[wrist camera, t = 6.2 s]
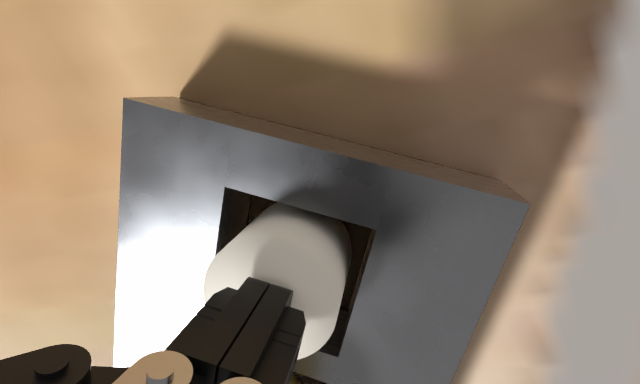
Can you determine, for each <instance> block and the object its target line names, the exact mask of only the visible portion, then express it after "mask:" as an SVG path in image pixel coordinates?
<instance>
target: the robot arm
mask: <svg viewBox="0 0 640 384" xmlns="http://www.w3.org/2000/svg"><path fill="white" fill-rule="evenodd" d="M292 297H293V290H290V289H287V288H284V287H281V286H277V285H274V284H270V283H268V282H264V281H261V280H258V279H255V278H252V277H248V278H247V279H246V280H245V281H244V283H243V284H242V285H241V287H240V288H239V289H238V290H236V289H233V288H230V287H227V288H225V289H223V290H221V291H219V292H217V293H215V294H213V295H212V297H211V298H210V299H209V300H208V301H207V302H206V303H205V305H204V307H202V308H201V309H200V310H199V311H198V313H197V314H196V316H194V317H193V318H192V319H191V320H190V322H189V323H188V324H187V325H186V326H185V327H184V328H183V330H182V331H181V332H180V333H179V334H178V335H177V336H176V338H175V339H174V340H173V341H172V342H171V343H170V344H169V346H168V347H167V348H166V349H165V350H164V351H157V352H153V353H150V354H147V355H145V356H143V357H142V358H140V359H139V360H137V361H136V362H135V363H134V364H133V365H132V366H131V367H99V366H91V356H90V353H89V352H88V351H87V350H86V349H84V348H83V347H80V346H77V345H72V344H61V345H54V346H50V347H46V348H42V349H39V350H35V351H32V352H28V353H24V354H21V355H17V356H14V357H10V358H6V359H3V360H0V384H289V382H290V379H291V376H292V373H293V370H294V368H295V365H296V362H297V358H298V354H299V350H300V346H301V342H302V338H303V334H304V330H305V326H306V321H305V316H304V311H301V310H298V309H295V308H292V307H290V306H291V301H292Z"/></svg>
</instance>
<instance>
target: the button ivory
mask: <svg viewBox="0 0 640 384" xmlns="http://www.w3.org/2000/svg"><path fill="white" fill-rule="evenodd" d="M351 258H352V245H351V240H350V236H349V234H348V231H347V229H346V228H345V226H344V224H343V223H342V221H341V220H340V219H336V218H333V217H329V216H326V215H322V214H319V213H315V212H312V211H308V210H305V209H301V208H298V207H294V206H291V205H287V204H284V203H280V202H276V203H274V204H272V205H270V206H269V207H267V208H266V209H265V210H264V211H263V212H262V213H261V214H260V215H259V216H257V217H256V218H255V219H254V220H253V221H252V222H251V223H250V224H249V225H248V226H247V227H246V228H245V229H244V230H242V231H241V232H240V233H239V234H238V235H237V236H236V237H235V238H234V239H233V240H232V241H231V242H230V243H228V244H227V245H226V246H225V247H224V248H223V249H222V250H221V251H220V252H219V253H218V254H217V255H216V256H215V257H214V258H213V260H212V261H211V263H210V264H209V266H208V268H207V271H206V274H205V278H204V284H203V294H204V301H205V303H206V302H207V301H208V300H209V299H210V298H211V297H212V295H213V294H215V293H217V292H219V291H221V290H223V289H225V288H227V287H230V288H233V289H236V290H238V289H239V288H240V287H241V285H242V284H243V283H244V281H245V280H246V279H247V278H248V277H252V278H255V279H258V280H261V281H264V282H268V283H270V284H274V285H277V286H281V287H284V288H287V289H290V290H293V297H292V301H291V306H290V307H292V308H295V309H298V310H301V311H304V316H305V321H306V326H305V330H304V334H303V338H302V342H301V346H300V350H299V354H298V358H297V360H299V359H302V358H305V357H307V356H309V355H311V354H313V353H315V352H316V351H318V350H319V349H320V348H321V347H322V346H323V345H325V343H326V342H327V341H328V340H329V338H330V336H331V335H332V333H333V331H334V328H335V325H336V321H337V317H338V313H339V309H340V305H341V300H342V296H343V292H344V288H345V284H346V279H347V275H348V271H349V267H350V263H351Z"/></svg>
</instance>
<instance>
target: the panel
mask: <svg viewBox="0 0 640 384" xmlns="http://www.w3.org/2000/svg"><path fill="white" fill-rule="evenodd" d="M251 194H252V195H256V196H259V197H263V198H266V199H270V200H273V201H277V202H280V203H284V204H287V205H291V206H294V207H298V208H301V209H305V210H308V211H312V212H315V213H319V214H322V215H326V216H329V217H333V218H336V219H340V220H343V221H347V222H350V223H354V224H357V225H361V226H364V227H368V228H371V229H372V230H371V234H370V237H369V241H368V244H367V247H366V251H365V254H364V257H363V261H362V264H361V268H360V271H359V274H358V278H357V281H356V284H355V288H354V291H353V295H352V298H351V301H350V305H349V308H348V311H344V310H341V309H339V313H338V317H337V321H336V325H335V328H334V331H333V333H332V335H331V336H330V338H329V340H328V341H327V342H326V343H325V345H323V346H322V347H321V348H320V349H319V350H318V351H316V352H315V353H313V354H311V355H309V356H307V357H305V358H302V359H299V360H297V362H296V365H295V368H294V370H293V372H296V373H299V374H301V375H304V376H307V377H310V378H313V379H316V380H319V381H322V382H325V383H326V384H450V383H451V381H452V379H453V376H454V374H455V372H456V370H457V368H458V365H459V363H460V361H461V359H462V356H463V354H464V352H465V350H466V347H467V345H468V343H469V341H470V338H471V336H472V334H473V332H474V329H475V327H476V325H477V323H478V320H479V318H480V316H481V314H482V312H483V309H484V307H485V305H486V303H487V300H488V298H489V296H490V294H491V291H492V289H493V287H494V285H495V282H496V280H497V278H498V276H499V273H500V271H501V269H502V267H503V265H504V262H505V260H506V258H507V256H508V253H509V251H510V249H511V247H512V244H513V242H514V240H515V238H516V235H517V233H518V231H519V229H520V226H521V224H522V222H523V220H524V218H525V215H526V213H527V211H528V209H529V206H530V204H529V203H528V202H527V201H526V200H524V199H523V198H522V197H521V196H519V195H518V194H517V193H516V192H515V191H513V190H512V189H511V188H510V187H508V186H507V185H506V184H505V183H503V182H502V181H501V180H497V179H493V178H489V177H485V176H481V175H477V174H473V173H470V172H466V171H462V170H458V169H454V168H450V167H446V166H442V165H438V164H434V163H430V162H427V161H423V160H419V159H415V158H411V157H407V156H403V155H399V154H395V153H391V152H388V151H384V150H380V149H376V148H372V147H368V146H364V145H360V144H356V143H352V142H348V141H345V140H341V139H337V138H333V137H329V136H325V135H321V134H317V133H313V132H309V131H306V130H302V129H298V128H294V127H290V126H286V125H282V124H278V123H274V122H270V121H267V120H263V119H259V118H255V117H251V116H247V115H243V114H239V113H235V112H231V111H227V110H224V109H220V108H216V107H212V106H208V105H204V104H200V103H196V102H192V101H188V100H185V99H181V98H177V97H138V98H123V122H122V148H121V174H120V200H119V227H118V253H117V279H116V305H115V332H114V358H113V367H131V366H132V365H133V364H134V363H135V362H136V361H137V360H139V359H140V358H142V357H143V356H145V355H147V354H150V353H153V352H157V351H164V350H165V349H166V348H167V347H168V346H169V344H170V343H171V342H172V341H173V340H174V339H175V338H176V336H177V335H178V334H179V333H180V332H181V331H182V330H183V328H184V327H185V326H186V325H187V324H188V323H189V322H190V320H191V319H192V318H193V317H194V316H196V314H197V313H198V311H199V310H200V309H201V308H202V307H204V305H205V301H204V294H203V284H204V278H205V274H206V271H207V268H208V266H209V264H210V263H211V261H212V260H213V258H214V257H215V256H216V255H217V254H218V253H219V252H220V251H221V250H222V249H223V248H224V247H225V246H226V245H227V244H228V243H230V242H231V241H232V240H233V239H234V238H235V237H236V236H237V235H238V234H239V233H240V232H241V231H242V230H244V229H245V228H246V224H247V218H248V212H249V206H250V200H251Z"/></svg>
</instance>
